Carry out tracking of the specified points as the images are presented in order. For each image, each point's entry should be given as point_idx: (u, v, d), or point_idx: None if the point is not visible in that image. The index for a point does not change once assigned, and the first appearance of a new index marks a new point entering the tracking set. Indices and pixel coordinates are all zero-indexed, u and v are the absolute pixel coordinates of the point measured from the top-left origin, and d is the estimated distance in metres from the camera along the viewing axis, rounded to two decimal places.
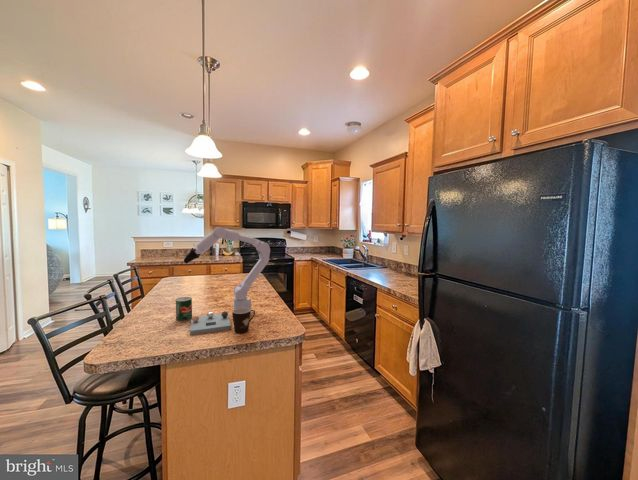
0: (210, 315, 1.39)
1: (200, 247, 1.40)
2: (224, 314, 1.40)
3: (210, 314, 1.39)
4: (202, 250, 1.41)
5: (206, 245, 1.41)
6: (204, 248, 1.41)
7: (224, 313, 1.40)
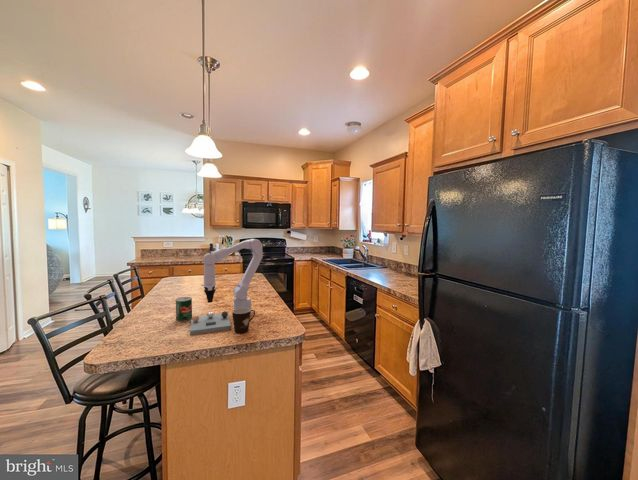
0: (210, 315, 1.39)
1: (208, 282, 1.42)
2: (224, 314, 1.40)
3: (210, 314, 1.39)
4: (212, 283, 1.43)
5: (211, 277, 1.42)
6: (212, 280, 1.42)
7: (224, 313, 1.40)
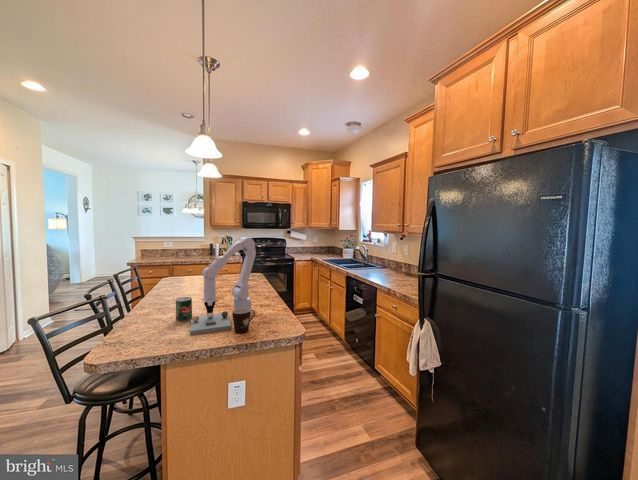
0: (210, 316, 1.39)
1: (208, 297, 1.38)
2: (224, 314, 1.40)
3: (210, 315, 1.39)
4: (212, 297, 1.39)
5: (211, 291, 1.39)
6: (212, 294, 1.39)
7: (224, 313, 1.40)
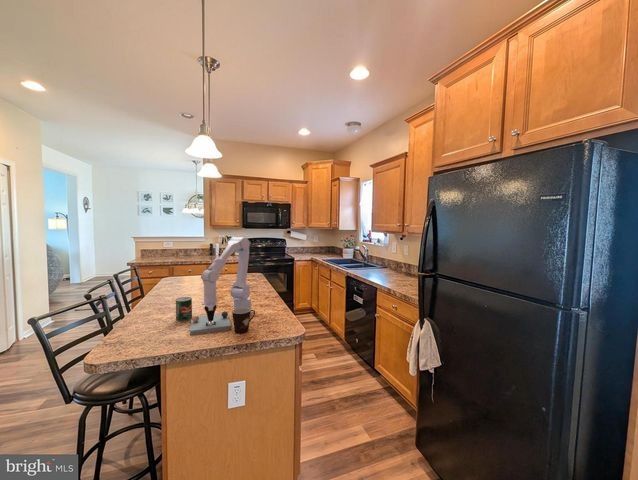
0: (210, 324, 1.32)
1: (209, 301, 1.31)
2: (224, 314, 1.40)
3: (210, 323, 1.32)
4: (213, 301, 1.32)
5: (212, 295, 1.32)
6: (213, 299, 1.32)
7: (224, 313, 1.40)
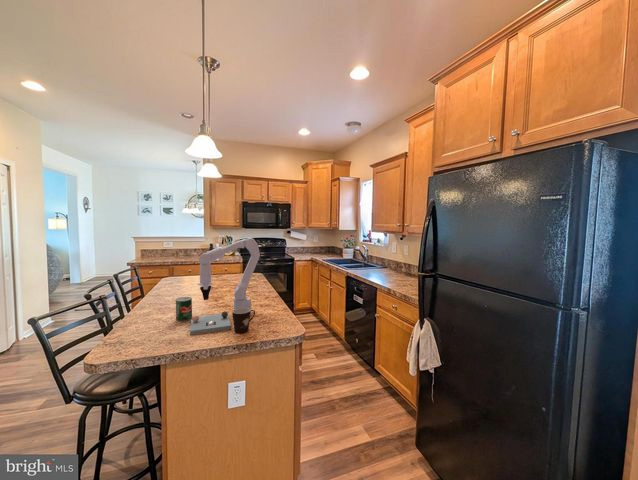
0: None
1: (204, 282, 1.44)
2: (224, 314, 1.40)
3: (210, 325, 1.31)
4: (208, 282, 1.45)
5: (207, 276, 1.44)
6: (208, 279, 1.44)
7: (224, 313, 1.40)
